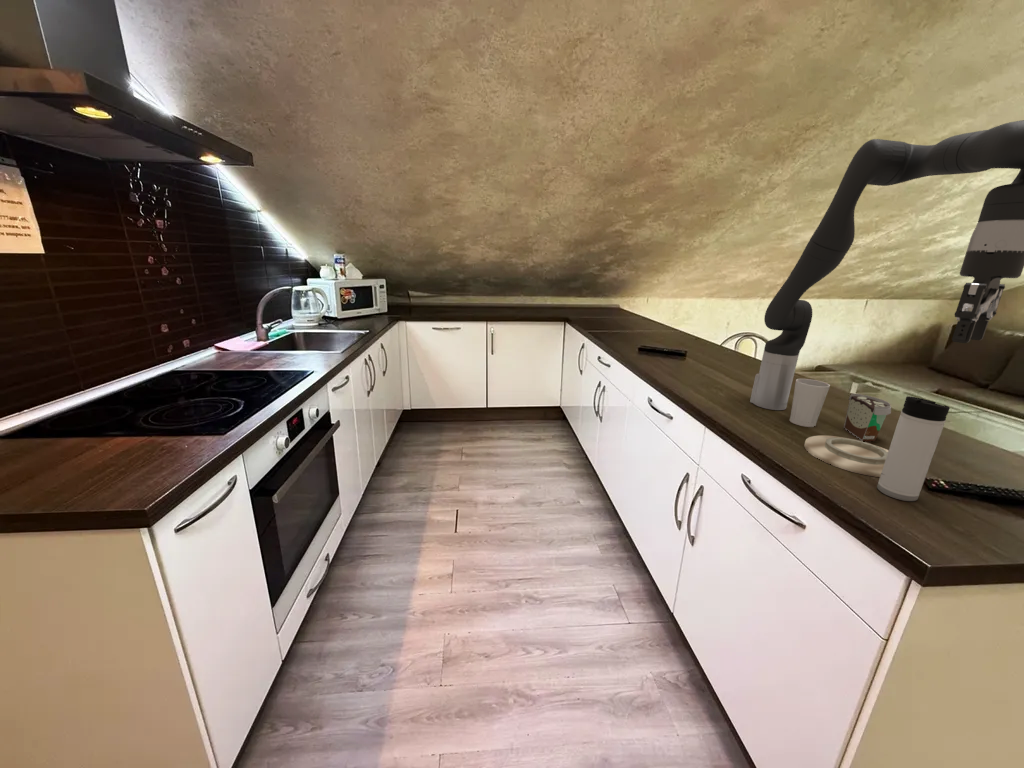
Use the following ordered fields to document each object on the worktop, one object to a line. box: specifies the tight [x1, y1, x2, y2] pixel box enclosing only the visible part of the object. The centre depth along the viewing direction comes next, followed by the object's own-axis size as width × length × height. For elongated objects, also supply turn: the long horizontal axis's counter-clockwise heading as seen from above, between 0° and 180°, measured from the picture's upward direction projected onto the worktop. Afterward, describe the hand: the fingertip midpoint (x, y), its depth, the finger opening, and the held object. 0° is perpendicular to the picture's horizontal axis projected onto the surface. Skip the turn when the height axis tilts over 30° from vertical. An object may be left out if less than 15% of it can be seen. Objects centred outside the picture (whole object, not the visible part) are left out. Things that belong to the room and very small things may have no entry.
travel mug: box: [876, 395, 951, 502], centre depth 84 cm, size 6×7×20 cm
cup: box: [789, 378, 831, 428], centre depth 122 cm, size 8×8×12 cm
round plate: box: [803, 435, 889, 478], centre depth 102 cm, size 20×20×2 cm
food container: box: [843, 392, 892, 443], centre depth 115 cm, size 12×6×10 cm, turn 168°
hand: (966, 341), depth 80 cm, fingers open, 8 cm apart
